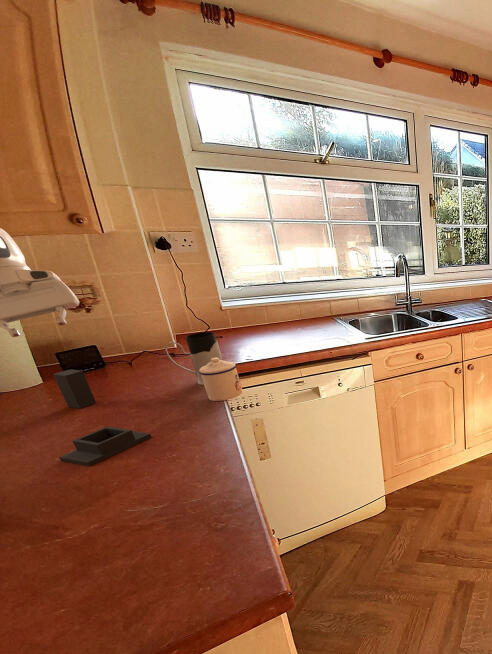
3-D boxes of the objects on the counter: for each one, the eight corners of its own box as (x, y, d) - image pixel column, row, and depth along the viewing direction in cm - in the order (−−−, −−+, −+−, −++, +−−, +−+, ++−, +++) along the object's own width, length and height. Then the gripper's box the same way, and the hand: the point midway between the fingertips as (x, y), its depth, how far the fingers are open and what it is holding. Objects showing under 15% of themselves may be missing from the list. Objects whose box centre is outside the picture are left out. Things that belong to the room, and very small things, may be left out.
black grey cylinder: (227, 381, 136) (213, 336, 130) (173, 389, 130) (157, 343, 125) (231, 373, 143) (218, 330, 137) (181, 380, 138) (165, 335, 132)
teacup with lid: (246, 395, 125) (235, 358, 120) (210, 404, 119) (197, 366, 115) (239, 384, 133) (228, 349, 129) (204, 392, 128) (192, 355, 123)
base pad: (89, 466, 91) (82, 452, 89) (60, 460, 93) (53, 447, 92) (151, 437, 102) (146, 424, 101) (124, 432, 105) (119, 420, 103)
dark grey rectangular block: (80, 408, 119) (65, 375, 115) (68, 407, 120) (52, 374, 116) (96, 402, 122) (82, 370, 118) (84, 401, 123) (70, 369, 120)
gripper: (-49, 290, 105) (-22, 339, 106) (58, 269, 116) (83, 313, 117) (-34, 300, 111) (-8, 347, 111) (68, 279, 122) (91, 322, 122)
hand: (39, 330), depth 114 cm, fingers open, 8 cm apart
